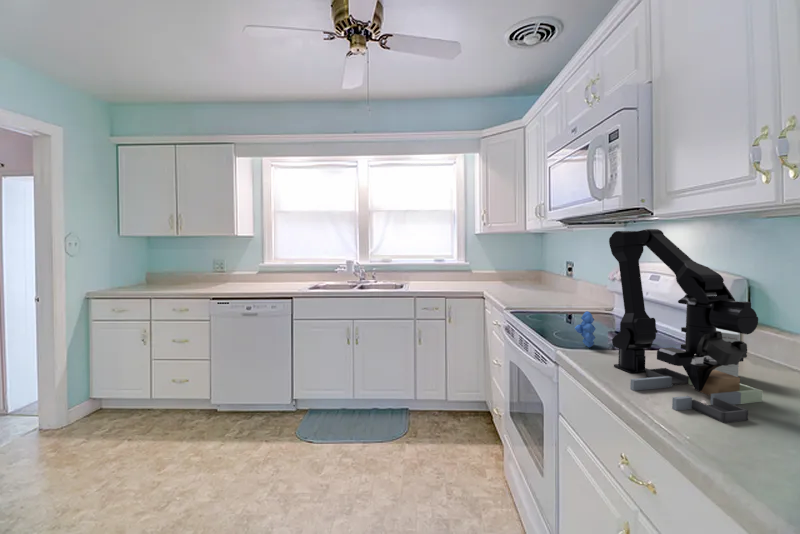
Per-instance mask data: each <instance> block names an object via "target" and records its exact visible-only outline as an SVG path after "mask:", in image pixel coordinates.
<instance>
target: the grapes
mask: <svg viewBox="0 0 800 534" xmlns="http://www.w3.org/2000/svg"><path fill="white" fill-rule="evenodd" d="M580 319H581V320H582V321H581V322H580V323H579V324H577V325H576V326H575V327H574V330H575V331H576V333H578V334H580V335H581V336H582V338H583V339H582V341H581V342H582V343H583V344H584V345H585V346H586V347H587V348H591V347H592V346H594V344H595V342H594V341H595V339H596V336H595V335H594V332H595V331H596V326H594V325H593V323H594V321H595V319H594V318H593V314H592V313H591V312H590V311H588V310H586V311H585V312H584V313H583V314H582V316H581V317H580Z"/></svg>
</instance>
